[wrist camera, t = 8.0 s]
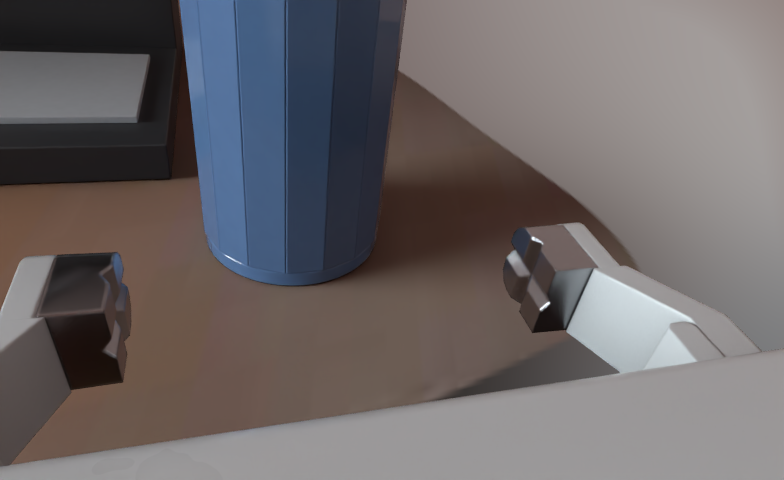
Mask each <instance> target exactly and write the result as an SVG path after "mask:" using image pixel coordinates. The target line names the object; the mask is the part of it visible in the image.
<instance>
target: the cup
mask: <svg viewBox="0 0 784 480" xmlns="http://www.w3.org/2000/svg"><path fill="white" fill-rule="evenodd" d="M179 2H180V11H181V20H182V29H183V38H184V47H185V57H186V66H187V75H188V84H189V93H190V102H191V111H192V120H193V130H194V139H195V148H196V157H197V166H198V175H199V184H200V193H201V203H202V212H203V221H204V230H205V233H206V239H207V243H208V246H209V248H210V250H211V252H212V253H213V255H214V256H215V257H216V258H217V259H218V261H219V262H220V263H222V264H223V265H224V266H225V267H227V268H228V269H230V270H231V271H233V272H235V273H237V274H239V275H241V276H243V277H246V278H249V279H252V280H255V281H258V282H263V283H267V284H274V285H286V286H299V285H310V284H317V283H322V282H326V281H330V280H333V279H336V278H339V277H341V276H343V275H345V274H347V273H349V272H351V271H352V270H354V269H356V268H357V267H358V266H359V265H361V264H362V263H363V262H364V261H365V260H366V259H367V258H368V256H369V255H370V253H371V252H372V250H373V248H374V245H375V242H376V235H377V228H378V224H379V219H380V211H381V203H382V195H383V187H384V179H385V171H386V163H387V155H388V147H389V139H390V131H391V123H392V115H393V107H394V99H395V91H396V83H397V74H398V66H399V58H400V50H401V42H402V34H403V26H404V17H405V10H406V2H407V0H179Z"/></svg>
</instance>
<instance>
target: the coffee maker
mask: <svg viewBox="0 0 784 480" xmlns="http://www.w3.org/2000/svg"><path fill="white" fill-rule="evenodd" d="M182 46H183V43H182V34H181V25H180V16H179V8H178V0H0V184H25V183H55V182H84V181H114V180H143V179H170V178H171V174H172V162H173V151H174V139H175V128H176V116H177V104H178V93H179V81H180V70H181V58H182Z"/></svg>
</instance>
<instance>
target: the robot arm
mask: <svg viewBox="0 0 784 480" xmlns="http://www.w3.org/2000/svg"><path fill="white" fill-rule="evenodd" d="M511 243H512V245H513V247H514V250H513V251H512V252H511V253H510V254H509V255H508V256H507V257H506V260H505V263H504V267H503V281H504V284H505V287H506V290H507V292H508V294H509V295H510V297H511V298H512V299H514V300H516V301H517V302H519V303H521V306H520V310H519V312H520V314H521V315H522V317H523V319H524V320H525V322H526V324H527V325H528V327H529V328H530V330H531V332H532V333H537V332H548V331H559V330H566V332H567V333H569V334H570V335H571V336H573V337H574V338H575V339H577V340H578V341H579V342H581V343H582V344H583V345H585V346H586V347H587V348H589V349H590V350H591V351H593V352H594V353H595V354H596V355H598V356H599V357H601V358H602V359H603V360H604V361H606V362H607V363H608V364H610V365H611V366H612V367H614V368H615V369H616V370H618V371H619V372H620V373H619V374H612V375H606V376H599V377H592V378H585V379H579V380H573V381H566V382H559V383H552V384H546V385H539V386H532V387H526V388H519V389H513V390H505V391H499V392H492V393H486V394H479V395H472V396H465V397H459V398H452V399H445V400H438V401H432V402H425V403H418V404H412V405H405V406H399V407H392V408H385V409H379V410H372V411H365V412H359V413H352V414H346V415H339V416H332V417H326V418H319V419H312V420H306V421H299V422H293V423H286V424H279V425H273V426H266V427H259V428H253V429H246V430H239V431H233V432H226V433H220V434H213V435H206V436H200V437H193V438H186V439H180V440H173V441H166V442H160V443H153V444H146V445H140V446H133V447H127V448H120V449H113V450H107V451H100V452H93V453H87V454H80V455H73V456H67V457H60V458H53V459H47V460H40V461H34V462H27V463H20V464H14V465H10V464H11V463H12V461H13V460H14V459H15V458H16V457H17V456H18V454H19V453H20V452H21V451H22V450H23V449H24V447H25V446H26V445H27V444H28V443H29V442H30V440H31V439H32V438H33V437H34V436H35V435H36V433H37V432H38V431H39V430H40V429H41V428H42V426H43V425H44V424H45V423H46V422H47V421H48V419H49V418H50V417H51V416H52V415H53V413H54V412H55V411H56V410H57V409H58V408H59V406H60V405H61V404H62V403H63V402H64V401H65V399H66V398H67V397H68V396H69V395H70V394H71V390H74V389H81V388H88V387H95V386H102V385H109V384H115V383H122V382H123V380H124V373H125V366H126V359H127V351H126V346H125V342H124V341H125V340H126V339H127V338H128V337H129V336H130V330H131V303H130V296H129V291H128V287H127V286H125V285H124V284H123V283H122V277H123V270H124V269H123V265H122V261H121V257H120V255H119V254H118V253H117V252H112V253H89V254H65V255H57V256H56V255H49V256H30V257H25V258H24V259H23V260H21V261H20V263H19V266H18V268H17V271H16V273H15V276H14V278H13V281H12V283H11V286H10V288H9V291H8V293H7V296H6V298H5V301H4V303H3V306H2V308H1V311H0V480H784V349H778V350H771V351H764V352H762V351H761V350H760V349H759V348H758V347H757V346H756V345H755V344H754V343H753V342H752V341H751V340H750V339H749V338H748V337H747V336H746V335H745V334H744V333H743V331H741V329H740V328H739V327H738V326H737V325H736V324H735V323H734V322H732V320H731V319H730V318H729V317H728V316H727V315H725V314H723V313H721V312H719V311H717V310H715V309H713V308H711V307H709V306H707V305H705V304H703V303H701V302H699V301H697V300H694V299H693V298H691V297H689V296H687V295H685V294H682V293H680V292H678V291H676V290H674V289H672V288H670V287H668V286H666V285H664V284H662V283H660V282H658V281H656V280H654V279H652V278H650V277H648V276H646V275H644V274H642V273H640V272H638V271H636V270H634V269H632V268H630V267H628V266H620V265H619V264H618V263H617V262H616V261H615V260H614V258H613V257H612V256H611V255H610V254H609V253H608V252H607V251H606V249H605V248H604V247H603V246H602V245H601V244H600V243H599V241H598V240H597V239H596V238H595V237H594V236H593V235H592V233H591V232H590V231H589V230H588V229H587V228H586V227H585V225H583V224H581V223H579V222H577V223H566V224H558V225H548V226H533V227H519V228H518V229H517V230H516V231H515V232H514V234H513V237H512V240H511Z"/></svg>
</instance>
